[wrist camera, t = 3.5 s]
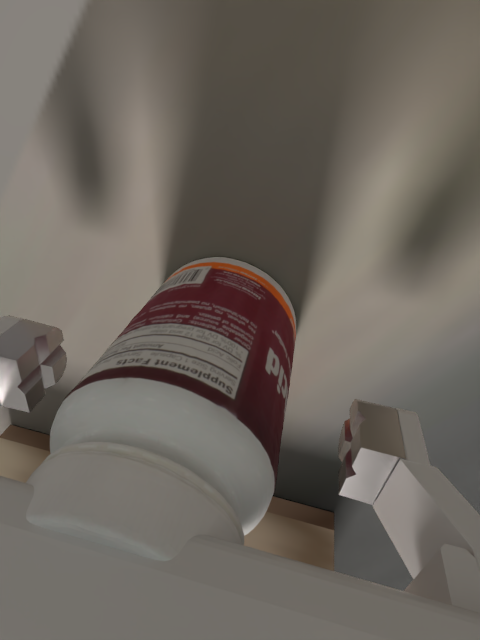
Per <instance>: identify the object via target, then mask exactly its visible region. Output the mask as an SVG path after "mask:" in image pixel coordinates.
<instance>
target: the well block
mask: <svg viewBox="0 0 480 640" xmlns="http://www.w3.org/2000/svg"><path fill="white" fill-rule="evenodd" d="M50 454H51V453H50V435H46V434H43V433H39V432H35V431H32V430H28V429H24V428H21V427H17V426H13V425H10V426H9V427H8V428H7V429H6V430H5V431H4V432H3V434H2V435H1V436H0V476H3V477H6V478H10V479H13V480H17V481H20V482H24V483H26V482H27V480H28V479H29V477H30V476H31V474H32V473H33V472H34V471H35V470H36V469H37V468H38V467H39V466H40V465H41V464H42V462H43V461H44V460H45V459H46V458H47V457H48V455H50ZM244 546H247V547H251V548H254V549H258V550H261V551H265V552H268V553H272V554H275V555H279V556H282V557H286V558H289V559H293V560H296V561H300V562H303V563H307V564H310V565H314V566H317V567H321V568H324V569H328V570H331V571H334V513H332V512H329V511H325V510H321V509H318V508H314V507H310V506H307V505H303V504H299V503H296V502H292V501H288V500H285V499H281V498H277V497H274V496H272V499H271V502H270V504H269V507H268V509H267V511H266V513H265V515H264V517H263V518H262V519H261V521H260V522H259V523H258V525H257V526H256V527H255V528H254V529H253V530H251V531H250V532H249V533H248V534H247V535H245V536H244Z"/></svg>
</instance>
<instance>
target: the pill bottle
mask: <svg viewBox="0 0 480 640" xmlns="http://www.w3.org/2000/svg"><path fill="white" fill-rule="evenodd" d="M295 339H296V317H295V312H294V309H293V306H292V304H291V302H290V300H289V298H288V296H287V295H286V293H285V292H284V290H283V289H282V287H281V286H280V285H279V284H278V283H277V282H276V281H275V280H274V279H273V278H271V277H270V276H269V275H268V274H266V273H265V272H263V271H261V270H260V269H258V268H256V267H254V266H252V265H250V264H248V263H245V262H242V261H239V260H235V259H230V258H226V257H211V258H204V259H200V260H196V261H193V262H190V263H188V264H186V265H184V266H182V267H181V268H179V269H178V270H176V271H175V272H174V273H173V274H172V275H171V276H170V277H169V278H168V279H167V280H166V281H165V282H164V284H163V285H162V286H161V287H160V288H159V289H158V290H157V291H156V293H155V294H154V295H153V296H152V297H151V299H150V300H149V301H148V302H147V303H146V305H145V306H144V307H143V308H142V310H141V311H140V312H139V313H138V314H137V315H136V316H135V317H134V318H133V319H132V320H131V322H130V323H129V324H128V326H127V327H126V328H125V329H124V331H123V332H122V333H121V334H120V335H119V336H118V338H117V339H116V340H115V341H114V342H113V343H112V344H111V346H110V347H109V348H108V349H107V351H106V352H105V353H104V354H103V355H102V357H101V358H100V359H99V360H98V361H97V362H96V363H95V365H94V366H93V367H92V368H91V369H90V371H89V372H88V373H87V374H86V375H85V376H84V377H83V379H82V380H81V381H80V382H79V383H78V385H77V386H76V387H75V388H74V389H73V390H72V391H71V392H70V393H69V394H68V395H67V396H66V397H65V399H64V400H63V402H62V404H61V405H60V407H59V409H58V411H57V413H56V416H55V419H54V421H53V424H52V427H51V432H50V453H51V454H50V455H48V457H47V458H46V459H45V460H44V461H43V462H42V464H41V465H40V466H39V467H38V468H37V469H36V470H35V471H34V472H33V473H32V474H31V476H30V477H29V479H28V480H27V482H26V483H27V484H31V485H32V486H33V487H34V495H33V498H32V500H31V502H30V505H29V507H28V509H27V512H26V519H27V520H28V521H29V522H30V523H32V524H34V525H37V526H40V527H43V528H47V529H50V530H53V531H56V532H60V533H63V534H67V535H71V536H74V537H78V538H81V539H85V540H88V541H91V542H95V543H98V544H102V545H105V546H109V547H112V548H115V549H119V550H122V551H126V552H129V553H132V554H136V555H139V556H142V557H146V558H150V559H154V560H160V561H168V560H171V559H173V558H174V557H175V556H176V555H178V554H179V552H180V551H181V549H182V548H183V547H184V545H185V544H186V542H187V541H188V540H189V539H191V538H192V537H194V536H197V535H209V536H212V537H216V538H219V539H223V540H226V541H230V542H233V543H237V544H240V545H244V536H245V535H247V534H248V533H249V532H250V531H251V530H253V529H254V528H255V527H256V526H257V525H258V523H259V522H260V521H261V519H262V518H263V517H264V515H265V513H266V511H267V509H268V507H269V504H270V502H271V499H272V496H273V494H274V491H275V486H276V480H277V470H278V463H279V452H280V444H281V436H282V430H283V422H284V417H285V411H286V405H287V399H288V392H289V386H290V376H291V371H292V362H293V353H294V347H295Z"/></svg>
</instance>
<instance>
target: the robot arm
mask: <svg viewBox="0 0 480 640" xmlns="http://www.w3.org/2000/svg"><path fill="white" fill-rule="evenodd" d="M63 341H64V339H63V334H62V330H60V329H59V328H57V327H53V326H49V325H46V324H42V323H38V322H34V321H30V320H27V319H21V318H18V317H14V316H10V315H9V316H3V317H2V318H0V406H4V407H8V408H12V409H16V410H21V411H25V412H29V413H30V412H31V410H32V409H33V408H34V407H35V406H36V405H37V404H38V403H39V402H40V401H41V400H42V398H43V397H44V396H45V388H48V387H50V386H52V385H55V384H56V383H57V382H58V381H59V379H60V378H61V377H62V375H63V373H64V371H65V368H66V363H67V357H66V352H65V351H64V350H63V349H62V347H61V346H60V344H61V343H62V342H63ZM338 457H339V458H340V460H341V461H342V464H341V466H340V469H339V471H338V481H339V495H341V496H344V497H348V498H351V499H355V500H358V501H361V502H365V503H368V504H372V505H373V508H374V510H375V512H376V513H377V515H378V517H379V519H380V520H381V522H382V524H383V526H384V528H385V529H386V531H387V533H388V535H389V537H390V538H391V540H392V542H393V544H394V545H395V547H396V549H397V551H398V553H399V554H400V556H401V558H402V560H403V561H404V563H405V565H406V567H407V569H408V570H409V572H410V574H411V576H412V577H413V579H414V580H413V581H412V582H411V583H410V584H409V585H408V587H407V588H406V589H405V590H404V591H401V590H397V589H394V588H390V587H387V586H383V585H380V584H376V583H373V582H369V581H366V580H362V579H359V578H355V577H352V576H349V575H345V574H342V573H338V572H335V571H331V570H328V569H324V568H321V567H317V566H314V565H310V564H307V563H303V562H300V561H296V560H293V559H289V558H286V557H282V556H279V555H275V554H272V553H268V552H265V551H261V550H258V549H254V548H251V547H247V546H244V545H240V544H237V543H233V542H230V541H226V540H223V539H219V538H216V537H212V536H209V535H197V536H194V537H192V538H191V539H189V540H188V541H187V542H186V544H185V545H184V547H183V548H182V549H181V551H180V552H179V554H178V555H176V556H175V557H174V558H173V559H171V560H168V561H160V560H154V559H150V558H146V557H142V556H139V555H136V554H132V553H129V552H126V551H122V550H119V549H115V548H112V547H109V546H105V545H102V544H98V543H95V542H91V541H88V540H85V539H81V538H78V537H74V536H71V535H67V534H63V533H60V532H56V531H53V530H50V529H47V528H43V527H40V526H37V525H34V524H32V523H30V522H29V521H28V520H27V519H26V512H27V509H28V507H29V505H30V502H31V500H32V498H33V495H34V487H33V486H32V485H31V484H27V483H24V482H20V481H17V480H13V479H10V478H6V477H3V476H0V640H480V515H479V514H478V513H477V512H476V510H475V509H474V508H473V507H472V506H471V505H470V504H469V503H468V502H467V500H466V499H465V498H464V497H463V496H462V495H461V494H460V493H459V492H458V490H457V489H456V488H455V487H454V486H453V485H452V484H451V483H450V482H449V480H448V479H447V478H446V477H445V476H444V475H443V474H442V473H441V472H440V470H439V469H438V468H436V467H432V466H431V465H430V461H429V457H428V453H427V449H426V445H425V441H424V437H423V433H422V430H421V426H420V422H419V418H418V415H417V414H416V413H415V412H412V411H407V410H403V409H398V408H392V407H388V406H384V405H379V404H375V403H371V402H366V401H362V400H358V399H355V400H354V401H353V403H352V405H351V407H350V419H348V420H346V421H345V422H344V424H343V427H342V430H341V434H340V438H339V446H338Z"/></svg>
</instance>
